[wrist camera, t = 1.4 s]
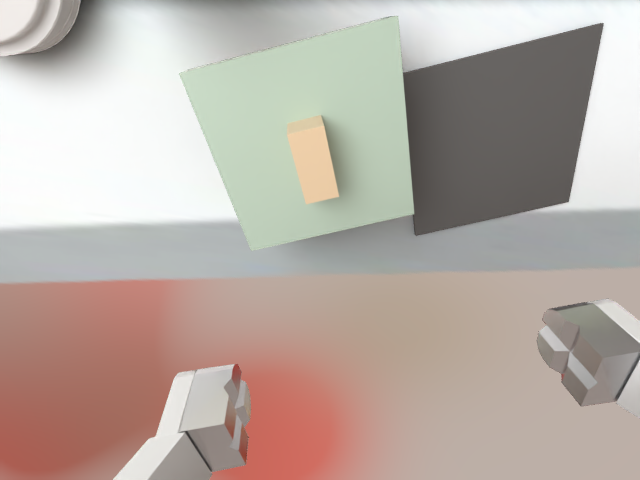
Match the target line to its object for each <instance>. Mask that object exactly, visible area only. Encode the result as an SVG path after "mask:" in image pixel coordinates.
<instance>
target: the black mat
mask: <svg viewBox="0 0 640 480" xmlns="http://www.w3.org/2000/svg"><path fill="white" fill-rule="evenodd" d="M603 24H604V23H599V24H595V25H591V26H588V27H584V28H580V29H576V30H572V31H568V32H564V33H560V34H556V35H552V36H548V37H544V38H540V39H536V40H532V41H528V42H524V43H520V44H516V45H512V46H508V47H505V48H501V49H497V50H493V51H489V52H485V53H481V54H477V55H473V56H469V57H465V58H461V59H457V60H453V61H449V62H445V63H441V64H437V65H433V66H429V67H425V68H422V69H418V70H414V71H410V72H406V73H403V82H404V94H405V106H406V118H407V131H408V143H409V155H410V167H411V180H412V192H413V204H414V214H413V219H414V230H415V235H416V236H417V235H421V234H426V233H430V232H435V231H439V230H444V229H448V228H453V227H457V226H462V225H466V224H471V223H475V222H480V221H484V220H489V219H493V218H498V217H502V216H507V215H511V214H516V213H520V212H525V211H529V210H534V209H538V208H543V207H547V206H552V205H556V204H561V203H565V202H569V197H570V192H571V187H572V182H573V177H574V172H575V166H576V161H577V156H578V151H579V146H580V141H581V136H582V131H583V126H584V121H585V116H586V110H587V105H588V100H589V95H590V90H591V85H592V80H593V75H594V70H595V65H596V60H597V54H598V49H599V44H600V39H601V34H602V29H603Z"/></svg>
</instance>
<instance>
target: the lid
mask: <svg viewBox="0 0 640 480" xmlns="http://www.w3.org/2000/svg"><path fill="white" fill-rule="evenodd" d="M80 2H81V0H0V56H9V55H15V54H27V53H35V52H39V51H44V50H46V49H48V48H50V47H52V46H54V45H56V44H57V43H58V42H60V41H61V40H62V39H63V38H64V37H65V36H66V35H67V34H68V33H69V31H70V29H71V28H72V26H73V25H74V23H75V20H76V18H77V15H78V12H79V7H80Z"/></svg>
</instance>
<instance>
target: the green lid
mask: <svg viewBox="0 0 640 480" xmlns="http://www.w3.org/2000/svg"><path fill="white" fill-rule="evenodd" d="M179 75H180V77H181V80H182V82H183V85H184V87H185V89H186V92H187V94H188V97H189V99H190V102H191V104H192V107H193V109H194V112H195V114H196V116H197V119H198V121H199V124H200V126H201V129H202V131H203V134H204V136H205V139H206V141H207V143H208V146H209V148H210V151H211V153H212V156H213V158H214V161H215V163H216V165H217V168H218V170H219V173H220V175H221V178H222V180H223V183H224V185H225V188H226V190H227V192H228V195H229V197H230V200H231V202H232V205H233V207H234V210H235V212H236V215H237V217H238V219H239V222H240V224H241V227H242V229H243V232H244V234H245V237H246V239H247V242H248V244H249V246H250V249H251V251H253V250H258V249H262V248H267V247H271V246H276V245H280V244H284V243H289V242H293V241H298V240H302V239H306V238H311V237H315V236H320V235H324V234H328V233H333V232H337V231H342V230H346V229H351V228H355V227H359V226H364V225H368V224H373V223H377V222H381V221H386V220H390V219H395V218H399V217H404V216H408V215H412V214H414V204H413V192H412V180H411V167H410V155H409V143H408V131H407V118H406V106H405V94H404V82H403V70H402V57H401V45H400V33H399V21H398V16H390V17H386V18H382V19H378V20H374V21H371V22H367V23H363V24H359V25H355V26H352V27H348V28H344V29H340V30H337V31H333V32H329V33H325V34H321V35H318V36H314V37H310V38H306V39H302V40H299V41H295V42H291V43H287V44H283V45H280V46H276V47H272V48H268V49H265V50H261V51H257V52H253V53H249V54H246V55H242V56H238V57H234V58H230V59H227V60H223V61H219V62H215V63H212V64H208V65H204V66H200V67H196V68H193V69H189V70H186V71H184V72H182V73H179Z"/></svg>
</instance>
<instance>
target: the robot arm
mask: <svg viewBox="0 0 640 480" xmlns="http://www.w3.org/2000/svg"><path fill="white" fill-rule="evenodd" d="M542 320H543V321H544V323H545V324H546V325H545V326H544V327H543V328H542V329H541V330H540V331H539V333H538V337H537V344H538V349H539V352H540V354H541V356H542V358H543V359H544V361H545V362H546V363H547V365H548V366H549V367H550V368H552V369H554V370H555V371H557V372H559V373H561V375H562V383H563V385H564V386H565V387H566V389H567V390H568V391H569V392H570V394H571V395H572V396H573V397H574V398H575V400H576V401H577V402H578V403H579V405H580V406H588V405H595V404H601V403H609V402H615V401H617V402H616V404H618V405H619V406H621V407H622V408H624V409H626V410H627V411H629V412H630V413H632V414H633V415H635V416H637V417H638V418H640V321H639V320H638V319H636V318H635V317H634V316H633V315H631V314H630V313H629V312H628V311H627V310H625V309H624V308H623V307H622V306H620V305H619V304H618V303H617V302H615V301H613V300H610V299H603V300H597V301H592V302H586V303H585V302H584V303H578V304H573V305H568V306H562V307H557V308H552V309H548V310H547V311H546V312H545V313H544V315H543V319H542ZM250 413H251V404H250V394H249V389H248V386H247V384H246V382H244V381H242V380H241V370H240V368H239V366H238V364H232V365H225V366H219V367H212V368H206V369H199V370H192V371H186V372H180V373H178V374H177V375H176V377H175V378H174V381H173V384H172V387H171V390H170V393H169V396H168V399H167V402H166V406H165V409H164V412H163V415H162V418H161V421H160V424H159V427H158V431H157V434H156V437H154V438H149V439H148V440H147V442H146V443H145V444H144V445H143V446H142V447H141V448H140V450H139V451H138V452H137V453H136V454H135V455H134V457H133V458H132V459H131V460H130V461H129V462H128V463H127V464H126V465H125V466H124V468H123V469H122V470H121V471H120V472H119V473H118V474H117V476H116V477H115V478H114V479H113V480H209V479H210V477H211V475H212V473H211V472H214V471H218V470H224V469H229V468H234V467H238V466H243V465H246V460H247V449H248V438H249V437H248V435H247V433H246V431H245V428H244V427H245V426H246V425H247V423H248V422H249V420H250Z"/></svg>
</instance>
